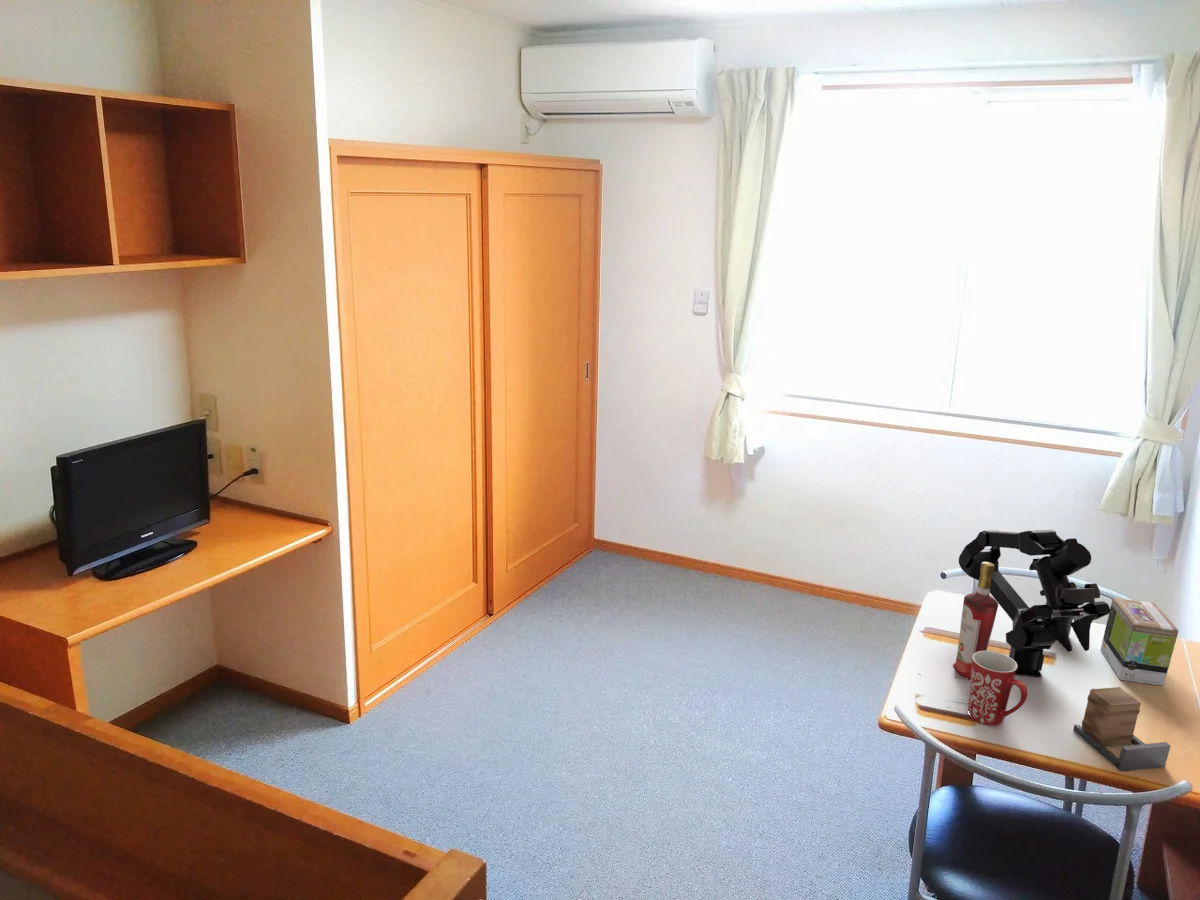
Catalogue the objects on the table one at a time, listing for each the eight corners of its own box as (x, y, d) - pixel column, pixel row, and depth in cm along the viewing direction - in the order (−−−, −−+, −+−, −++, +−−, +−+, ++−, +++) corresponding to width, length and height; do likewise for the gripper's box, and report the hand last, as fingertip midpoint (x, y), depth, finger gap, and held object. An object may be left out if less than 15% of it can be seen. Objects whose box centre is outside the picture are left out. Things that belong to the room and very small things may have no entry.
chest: (1080, 730, 193) (1089, 689, 190) (1109, 727, 195) (1119, 686, 192) (1100, 748, 187) (1111, 705, 184) (1131, 745, 189) (1141, 703, 186)
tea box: (1165, 687, 212) (1180, 630, 207) (1118, 680, 213) (1132, 624, 209) (1142, 655, 226) (1156, 601, 221) (1098, 649, 228) (1111, 595, 223)
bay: (1073, 730, 193) (1077, 709, 191) (1115, 726, 195) (1120, 706, 194) (1120, 771, 180) (1126, 749, 179) (1164, 767, 182) (1170, 745, 181)
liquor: (944, 667, 216) (963, 558, 207) (971, 664, 218) (991, 556, 209) (963, 684, 209) (984, 572, 201) (991, 680, 211) (1012, 570, 202)
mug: (952, 710, 198) (962, 655, 194) (981, 700, 203) (991, 646, 199) (1001, 742, 188) (1013, 684, 184) (1030, 731, 192) (1042, 675, 188)
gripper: (1039, 572, 196) (1063, 643, 189) (1114, 568, 200) (1141, 638, 193) (1010, 589, 206) (1032, 657, 199) (1082, 585, 210) (1106, 652, 203)
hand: (1078, 651), depth 198 cm, fingers open, 4 cm apart
